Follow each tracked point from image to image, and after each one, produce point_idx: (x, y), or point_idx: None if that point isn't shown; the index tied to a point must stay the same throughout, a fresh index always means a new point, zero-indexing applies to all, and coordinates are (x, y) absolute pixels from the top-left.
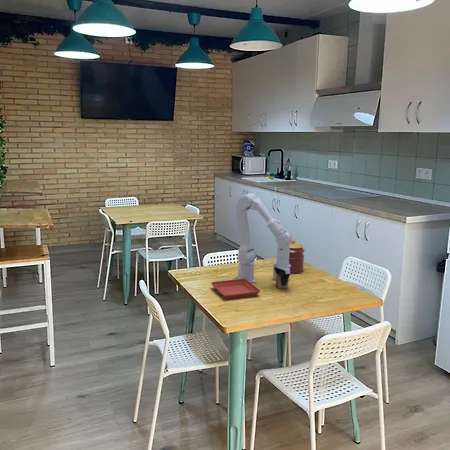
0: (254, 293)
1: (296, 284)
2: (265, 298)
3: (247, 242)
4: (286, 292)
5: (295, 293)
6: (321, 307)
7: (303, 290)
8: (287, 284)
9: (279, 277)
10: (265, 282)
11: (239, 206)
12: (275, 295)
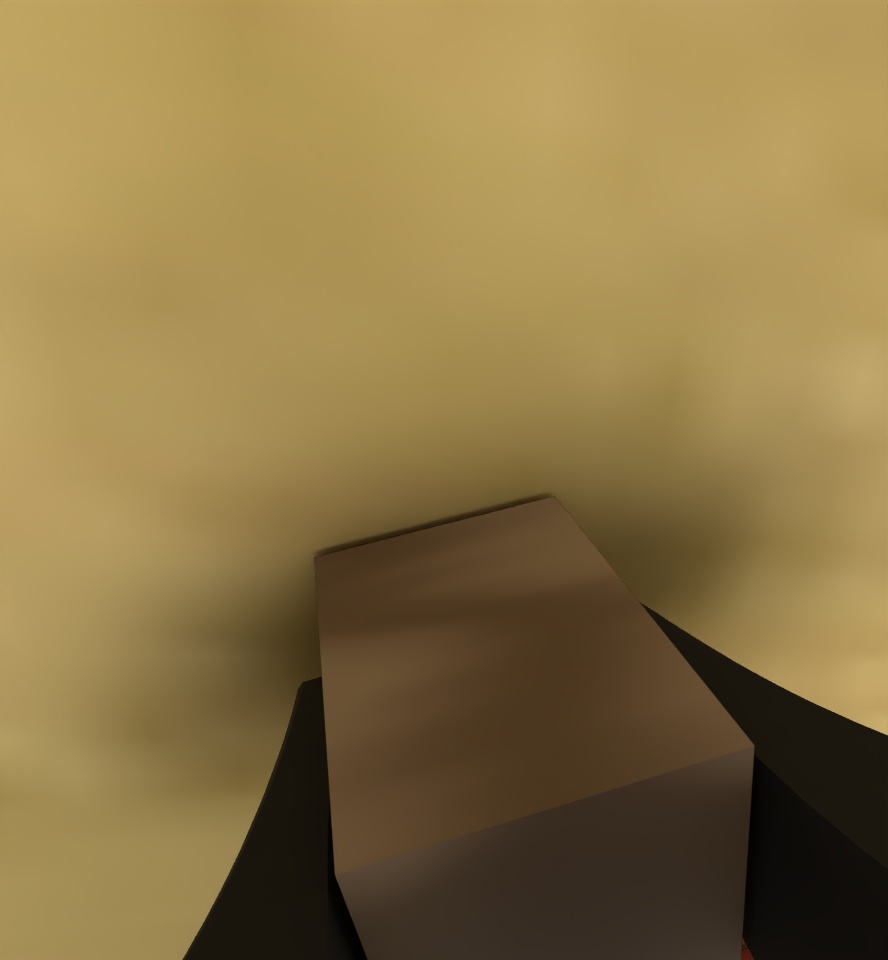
0: None
1: (155, 155)
2: None
3: None
4: (770, 537)
5: (879, 350)
6: None
7: (741, 50)
8: (596, 560)
9: (726, 952)
10: (125, 904)
11: None
12: (853, 719)
